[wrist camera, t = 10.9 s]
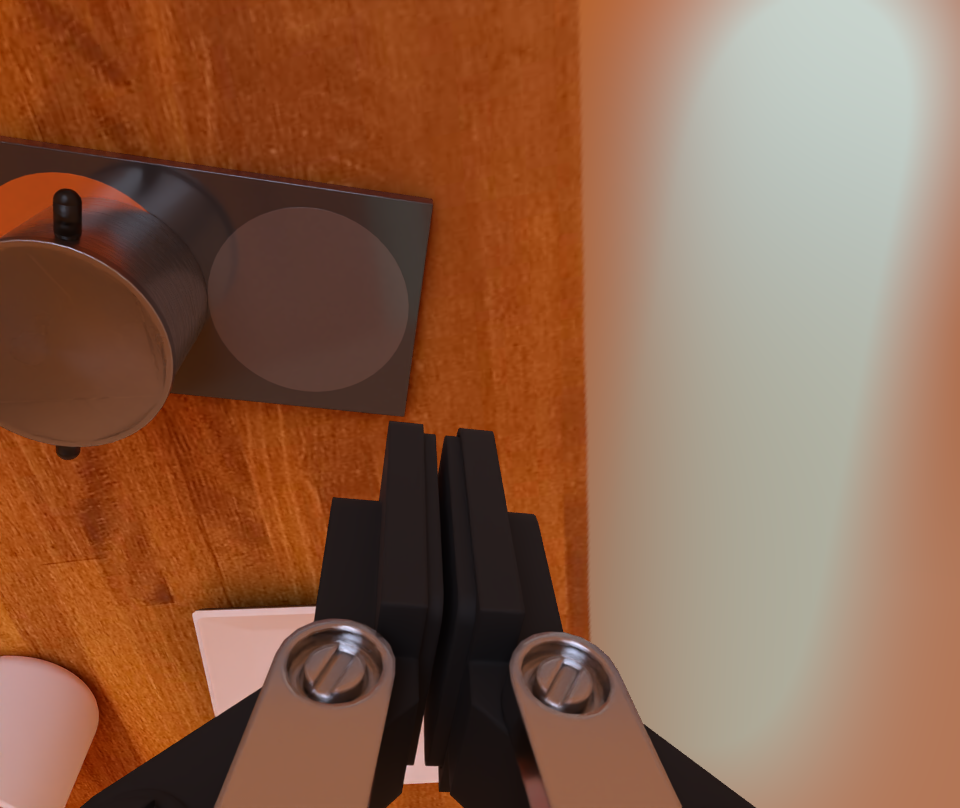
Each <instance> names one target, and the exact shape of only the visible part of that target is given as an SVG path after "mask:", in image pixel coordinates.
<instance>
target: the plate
mask: <svg viewBox="0 0 960 808" xmlns="http://www.w3.org/2000/svg"><path fill="white" fill-rule="evenodd" d="M315 610H316V604H315V605H287V606H260V607H232V608H205V609H200V610H197V611H195V612H194V613H193V614H192V616H193V620H194V625H195V629H196V634H197V638H198V643H199V647H200V652H201V656H202V660H203V665H204V669H205V674H206V678H207V683H208V687H209V692H210V696H211V701H212V705H213V710H214V714H215V717H217V716H218V715H220V714H221V713H223V712H224V711H226V710H227V709H229V708H230V707H232V706H234V705H235V704H237V703H238V702H240V701H241V700H243V699H244V698H246V697H247V696H249V695H250V694H252V693H254V692H255V691H257V690H258V689H260V688H261V687H262V686H263V684H264V681H265V679H266V676H267V674H268V671H269V669H270V666H271V664H272V661H273V659H274V656H275V654H276V652H277V650H278V649H279V647H280V646H281V644H282V642H283V641H284V639H286V638H287V637H288V636H289V635H290V634H292V633H293V632H294V631H295V630H296V629H298V628H300V627H303V626H305V625H307V624H309V623H311V622H314V617H315ZM434 782H439V777H438V766H425V761H424V716H423V721H422V726H421V731H420V736H419V741H418V747H417V752H416V757H415V762H414V765H413V766H409V765H407V767H406V772H405V778H404V783H403V784H416V783H434Z"/></svg>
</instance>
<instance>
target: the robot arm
mask: <svg viewBox="0 0 960 808" xmlns="http://www.w3.org/2000/svg"><path fill="white" fill-rule="evenodd" d="M423 716H424V761H425V766H438V777H439V792H450V795H451V796H452V797H453V798H454V799H455V800H456V801H457V802H458V803H460V804H461V805H462V806H463V807H464V808H755V807H754V806H753V805H751V804H750V803H749V802H747V801H746V800H745V799H743V798H742V797H741V796H739V795H738V794H737V793H735V792H734V791H733V790H731V789H730V788H729V787H727V786H726V785H724V784H723V783H722V782H721V781H719V780H718V779H717V778H715V777H714V776H713V775H711V774H710V773H709V772H707V771H706V770H705V769H703V768H702V767H700V766H699V765H698V764H696V763H695V762H694V761H692V760H691V759H690V758H688V757H687V756H686V755H684V754H683V753H682V752H680V751H679V750H678V749H676V748H675V747H674V746H672V745H671V744H669V743H668V742H667V741H666V740H664V739H663V738H662V737H660V736H659V735H658V734H656V733H655V732H654V731H652V730H651V729H650V728H648V727H647V726H646V725H644V724H643V723H642V721H641V718H640V716H639V714H638V712H637V710H636V708H635V706H634V703H633V701H632V699H631V697H630V695H629V693H628V691H627V688H626V686H625V684H624V682H623V680H622V678H621V676H620V674H619V672H618V670H617V668H616V667H615V666H614V664H613V662H612V661H611V659H610V658H609V657H608V656H607V655H606V654H605V653H604V652H603V651H602V650H600V649H599V648H598V647H597V646H596V645H594V644H592V643H590V642H588V641H587V640H585V639H583V638H581V637H578V636H575V635H571V634H568V633H564V632H563V629H562V624H561V620H560V616H559V611H558V607H557V603H556V598H555V594H554V590H553V585H552V581H551V577H550V572H549V568H548V564H547V559H546V555H545V551H544V546H543V542H542V537H541V533H540V529H539V524H538V521H537V518H536V516H535V515H534V514H525V513H513V512H507V506H506V500H505V495H504V489H503V483H502V478H501V472H500V467H499V461H498V455H497V450H496V444H495V438H494V434H493V432H492V431H484V430H474V429H464V428H459V429H458V432H457V436H456V437H455V436H445V438H444V442H443V448H442V454H441V460H440V466H439V472H438V471H437V452H436V435H435V434H425V433H424V430H423V424H414V423H404V422H394V421H389V426H388V434H387V442H386V450H385V458H384V466H383V474H382V482H381V490H380V498H379V501H370V500H359V499H347V498H335V497H333V499H332V505H331V511H330V518H329V524H328V531H327V538H326V544H325V551H324V557H323V564H322V571H321V577H320V584H319V590H318V597H317V604H316V610H315V617H314V622H311V623H309V624H307V625H305V626H303V627H300V628H298V629H296V630H295V631H294V632H293V633H292V634H290V635H289V636H288V637H287V638H286V639H284V641H283V642H282V644H281V646H280V647H279V649H278V650H277V652H276V654H275V656H274V659H273V661H272V664H271V666H270V669H269V671H268V674H267V676H266V679H265V681H264V684H263V686H262V687H261V688H260V689H258V690H257V691H255V692H254V693H252V694H250V695H249V696H247V697H246V698H244V699H243V700H241V701H240V702H238V703H237V704H235V705H234V706H232V707H230V708H229V709H227V710H226V711H224V712H223V713H221V714H220V715H218V716H217V717H215V718H213V719H212V720H210V721H209V722H207V723H206V724H204V725H203V726H201V727H200V728H198V729H197V730H195V731H193V732H192V733H190V734H189V735H187V736H186V737H184V738H183V739H181V740H180V741H178V742H176V743H175V744H173V745H172V746H170V747H169V748H167V749H166V750H164V751H163V752H161V753H160V754H158V755H156V756H155V757H153V758H152V759H150V760H149V761H147V762H146V763H144V764H143V765H141V766H139V767H138V768H136V769H135V770H133V771H132V772H130V773H129V774H127V775H126V776H124V777H123V778H121V779H119V780H118V781H116V782H115V783H113V784H112V785H110V786H109V787H107V788H106V789H104V790H103V791H101V792H99V793H98V794H96V795H95V796H93V797H92V798H91V799H90V800H89V801H87V802H86V803H85V804H84V805H83V806H81V807H80V808H386V807H387V806H388V805H389V804H390V803H391V802H393V801H394V800H395V799H396V798H397V797H398V796H399V795H400V794H401V793H402V788H403V783H404V778H405V772H406V767H407V765H409V766H413V765H414V762H415V757H416V752H417V747H418V741H419V736H420V731H421V726H422V721H423Z"/></svg>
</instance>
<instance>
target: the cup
mask: <svg viewBox="0 0 960 808" xmlns="http://www.w3.org/2000/svg"><path fill="white" fill-rule="evenodd" d="M98 722H99V710H98V706H97V702H96V699H95V697H94V695H93V693H92V692H91V690H90V689H89V688H88V686H87V685H86V684H85V683H84V682H83V681H82V680H81V679H80V678H79V677H77V676H76V675H75V674H73V673H72V672H70V671H68V670H67V669H65V668H63V667H61V666H59V665H56V664H54V663H51V662H48V661H45V660H41V659H37V658H31V657H25V656H0V808H65V805H66V803H67V800H68V798H69V796H70V793H71V791H72V788H73V786H74V784H75V781H76V779H77V776H78V774H79V772H80V769H81V767H82V764H83V762H84V759H85V757H86V755H87V752H88V750H89V747H90V745H91V743H92V740H93V738H94V735H95V733H96V730H97V727H98Z"/></svg>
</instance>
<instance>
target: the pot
mask: <svg viewBox="0 0 960 808" xmlns="http://www.w3.org/2000/svg"><path fill="white" fill-rule="evenodd" d="M206 312H207V291H206V285H205V281H204V278H203V274H202V272H201V270H200V267H199V265H198V263H197V261H196V259H195V258H194V256H193V254H192V252H191V251H190V250H189V248H188V247H187V246H186V244H185V243H184V242H183V241H182V240H181V239H180V237H179V236H178V235H177V234H176V233H175V232H174V231H173V230H171V229H170V228H169V227H168V226H167V225H166V224H164V223H163V222H162V221H160V220H159V219H157V218H156V217H154V216H153V215H151V214H149V213H147V212H145V211H143V210H142V209H139V208H137V207H134V206H132V205H130V204H127V203H123V202H120V201H116V200H111V199H105V198H93V197H86V198H81V197H80V196H79V194H78V193H77V192H75V191H74V190H72V189H68V188H63V189H60V190H58V191H57V192H56V193H55V194H54V196H53V205H52V206H50V207H48V208H46V209H45V210H43V211H41V212H40V213H38V214H36V215H35V216H33V217H32V218H30V219H29V220H27V221H25V222H24V223H22V224H21V225H19V226H18V227H16V228H15V229H13V230H11V231H10V232H8V233H7V234H5V235H4V236H2V237H0V426H1V427H3V428H5V429H7V430H9V431H11V432H13V433H16V434H18V435H21V436H23V437H26V438H29V439H32V440H35V441H38V442H43V443H47V444H52V445H56V453H57V455H58V456H59V457H60V458H62V459H64V460H71V459H74V458H76V457H77V456H78V455H79V453H80V447H88V446H98V445H103V444H107V443H112V442H115V441H117V440H120V439H123V438H126V437H127V436H129V435H131V434H133V433H135V432H137V431H138V430H140V429H141V428H143V427H144V426H146V425H147V424H148V423H149V422H150V421H151V420H152V419H153V418H154V417H155V416H156V415H157V413H158V412H159V411H160V409H161V408H162V407H163V405H164V403H165V401H166V399H167V397H168V395H169V394H170V391H171V388H172V385H173V382H174V377H175V375H176V373H177V371H178V370H179V368H180V366H181V365H182V363H183V361H184V360H185V358H186V356H187V354H188V353H189V351H190V349H191V348H192V346H193V344H194V343H195V341H196V339H197V337H198V336H199V334H200V332H201V330H202V328H203V325H204V322H205V318H206Z"/></svg>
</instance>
